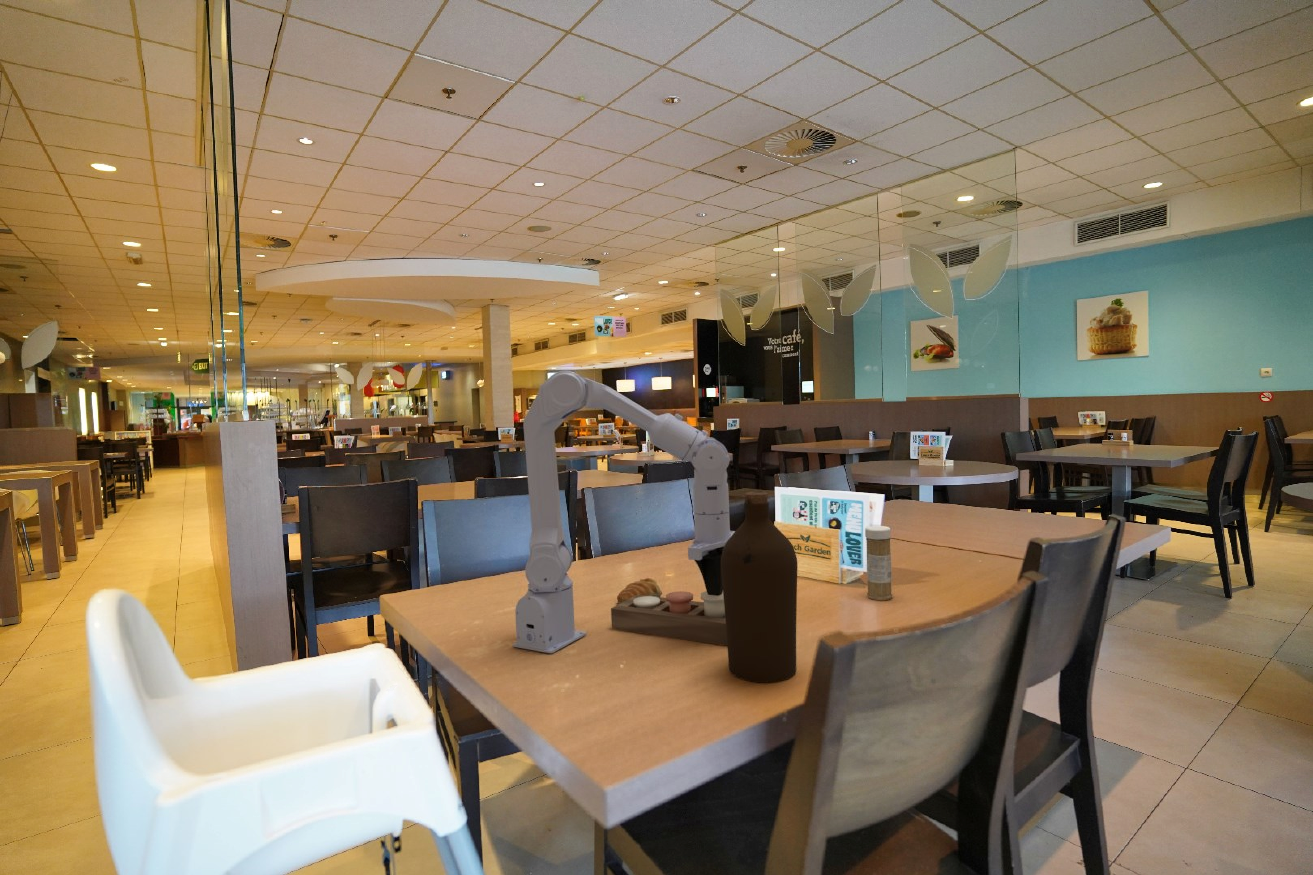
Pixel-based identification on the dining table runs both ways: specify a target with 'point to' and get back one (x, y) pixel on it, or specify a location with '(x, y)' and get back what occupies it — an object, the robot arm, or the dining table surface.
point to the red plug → (679, 602)
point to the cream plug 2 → (713, 605)
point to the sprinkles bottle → (878, 562)
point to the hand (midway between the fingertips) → (714, 594)
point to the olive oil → (760, 597)
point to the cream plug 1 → (646, 602)
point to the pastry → (640, 590)
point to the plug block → (669, 622)
